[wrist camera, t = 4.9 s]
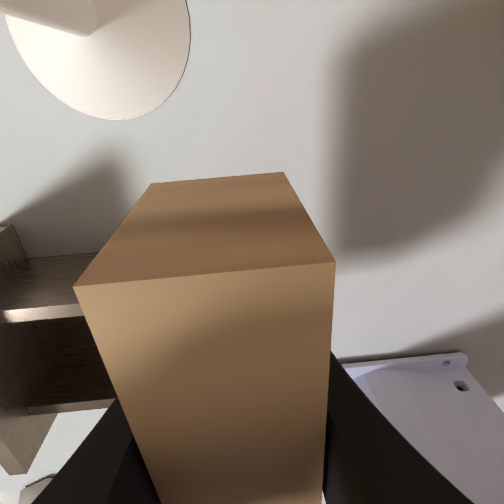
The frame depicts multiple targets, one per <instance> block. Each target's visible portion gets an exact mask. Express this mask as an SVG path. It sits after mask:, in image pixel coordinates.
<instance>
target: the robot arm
mask: <svg viewBox="0 0 504 504" xmlns="http://www.w3.org/2000/svg"><path fill="white" fill-rule="evenodd" d="M467 363H468V357H467V356H466V355H465V354H464V353H462V352H458V353H448V354H438V355H428V356H418V357H408V358H398V359H388V360H378V361H368V362H358V363H348V364H340V362H339V361H338V360H337V359H336V357H335V356H334V354H333V353H332V352H331V350H330V367H329V383H328V400H327V417H326V434H325V450H324V467H323V484H322V490H323V494H324V497H325V501H326V504H504V413H503V412H502V410H501V409H500V408H499V407H498V406H497V404H496V403H495V402H494V401H493V399H492V398H491V397H490V396H489V395H488V393H487V392H486V391H485V390H484V389H483V387H482V386H481V385H480V384H479V382H478V381H477V380H476V379H475V378H474V376H473V375H472V374H471V373H470V372H469V370H468V369H467V368H466V365H467ZM31 504H162V503H161V501H160V499H159V496H158V494H157V491H156V489H155V486H154V484H153V482H152V479H151V477H150V474H149V472H148V469H147V467H146V464H145V462H144V460H143V457H142V455H141V452H140V450H139V447H138V445H137V443H136V440H135V438H134V435H133V433H132V430H131V428H130V425H129V423H128V421H127V418H126V416H125V413H124V411H123V408H122V406H121V404H120V401H119V399H118V396H117V397H116V398H115V400H114V401H113V402H112V404H111V405H110V407H109V408H108V409H107V411H106V412H105V413H104V415H103V416H102V418H101V419H100V420H99V422H98V423H97V424H96V426H95V427H94V428H93V430H92V431H91V432H90V433H89V435H88V436H87V437H86V438H85V440H84V441H83V442H82V443H81V445H80V446H79V447H78V449H77V450H76V451H75V452H74V454H73V455H72V456H71V457H70V459H69V460H68V461H67V462H66V464H65V465H64V466H63V467H62V468H61V470H60V471H59V472H58V473H57V474H56V476H55V477H54V478H53V479H52V480H51V481H50V483H49V484H48V485H47V486H46V487H45V488H44V489H43V491H42V492H41V493H40V494H39V495H38V496H37V497H36V498H35V500H34V501H33V502H32V503H31Z"/></svg>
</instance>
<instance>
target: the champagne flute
mask: <svg viewBox="0 0 504 504" xmlns="http://www.w3.org/2000/svg"><path fill="white" fill-rule="evenodd" d="M0 13H2V14H5V16H6V20H7V24H8V28H9V31H10V33H11V36H12V38H13V40H14V42H15V45H16V47H17V49H18V51H19V53H20V55H21V56H22V58H23V59H24V61H25V63H26V64H27V66H28V67H29V69H30V70H31V72H32V73H33V74H34V75H35V76H36V77H37V79H38V80H39V81H40V82H41V83H42V85H43V86H44V87H46V88H47V89H48V90H49V91H50V92H51V93H52V94H53V95H55V96H56V97H57V98H58V99H59V100H61V101H63V102H64V103H66V104H67V105H69V106H70V107H72V108H74V109H76V110H78V111H80V112H83V113H85V114H87V115H90V116H93V117H98V118H102V119H107V120H125V119H131V118H136V117H139V116H142V115H144V114H146V113H148V112H151V111H153V110H154V109H155V108H157V107H158V106H159V105H161V104H162V103H163V102H164V101H165V100H166V99H167V98H168V97H169V96H170V94H171V93H172V92H173V91H174V90H175V88H176V86H177V84H178V82H179V80H180V79H181V77H182V75H183V72H184V68H185V65H186V62H187V59H188V52H189V43H190V28H189V15H188V11H187V6H186V1H185V0H0Z"/></svg>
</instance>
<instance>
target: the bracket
mask: <svg viewBox="0 0 504 504" xmlns="http://www.w3.org/2000/svg"><path fill="white" fill-rule="evenodd" d="M98 253H99V252H97V253H86V254H75V255H64V256H53V257H42V258H32V259H28V258H27V256H26V254H25V252H24V250H23V248H22V245H21V243H20V241H19V239H18V237H17V235H16V233H15V230H14V228H13V226H12V225H1V226H0V464H1V466H2V467H3V468H4V469H5V471H6V472H7V473H8V474H9V475H18V474H27V472H28V470H29V468H30V466H31V464H32V462H33V460H34V458H35V456H36V455H37V453H38V451H39V449H40V447H41V445H42V443H43V441H44V439H45V437H46V435H47V433H48V431H49V429H50V427H51V425H52V424H53V422H54V420H55V418H56V416H57V414H58V413H62V412H72V411H81V410H91V409H101V408H109V407H110V405H111V404H112V402H113V401H114V400H115V398H116V397H117V394H116V391H115V389H114V386H113V384H112V382H111V379H110V377H109V374H108V372H107V369H106V367H105V365H104V362H103V360H102V357H101V355H100V352H99V350H98V347H97V345H96V343H95V340H94V338H93V335H92V333H91V330H90V328H89V326H88V323H87V321H86V318H85V316H84V313H83V311H82V308H81V306H80V304H79V301H78V299H77V296H76V294H75V291H74V289H73V286H74V284H75V283H76V282H77V280H78V279H79V278H80V276H81V275H82V274H83V272H84V271H85V270H86V269H87V267H88V266H89V265H90V263H91V262H92V261H93V259H94V258H95V257H96V255H97V254H98Z"/></svg>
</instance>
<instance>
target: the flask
mask: <svg viewBox="0 0 504 504" xmlns="http://www.w3.org/2000/svg"><path fill="white" fill-rule="evenodd" d="M52 479H53V478H46V479H44V480H42V481H40V482H38V483H36V484H34V485H32V486H29V487H27V488H25V489H23V490H21V492H20V497H19V503H18V504H31V503H32V502H33V501H34V500H35V498H36V497H37V496H38V495H39V494H40V493H41V492H42V491H43V489H44V488H45V487H46V486H47V485H48V484H49V483H50V481H51V480H52Z"/></svg>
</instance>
